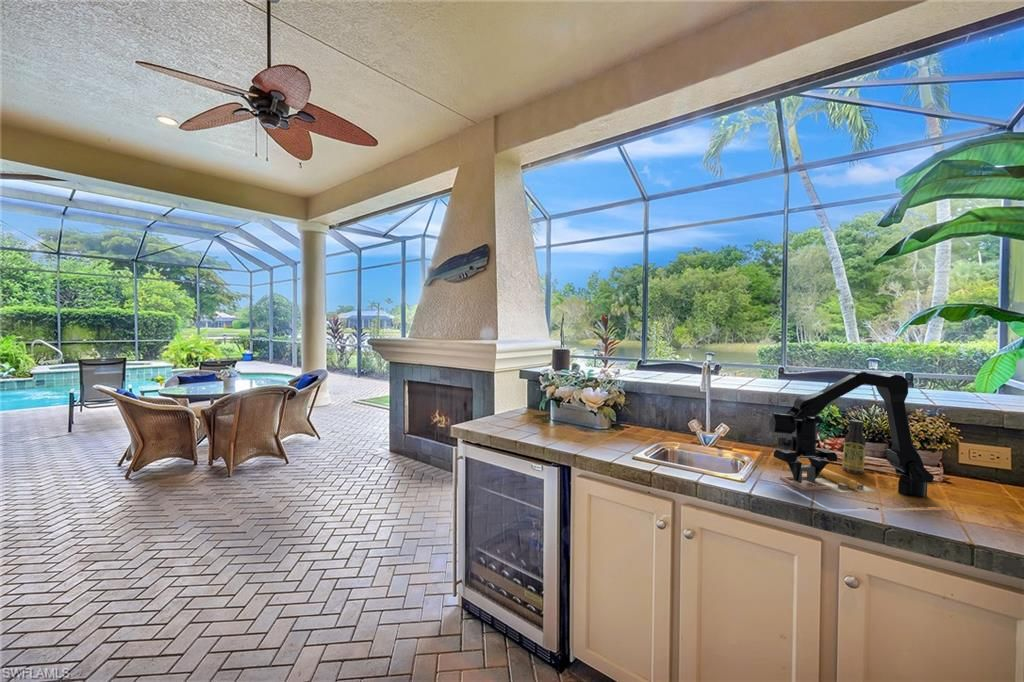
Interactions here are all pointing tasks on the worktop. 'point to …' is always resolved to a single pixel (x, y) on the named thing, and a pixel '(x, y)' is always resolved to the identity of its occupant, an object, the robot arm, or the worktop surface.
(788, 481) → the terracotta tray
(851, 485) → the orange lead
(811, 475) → the dark gray horseshoe block
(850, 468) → the sauce bottle
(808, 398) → the robot arm
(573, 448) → the worktop surface
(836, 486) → the cradle board
